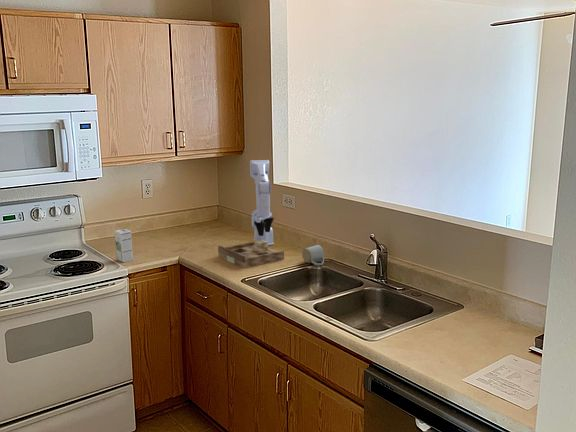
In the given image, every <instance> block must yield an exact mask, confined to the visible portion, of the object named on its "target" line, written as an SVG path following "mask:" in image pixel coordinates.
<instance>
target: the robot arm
mask: <svg viewBox="0 0 576 432" xmlns="http://www.w3.org/2000/svg"><path fill="white" fill-rule="evenodd" d="M249 173H250V178H252V179H254V182H255V200H256V201H255V203H256V204H255V205H256V209H254V210H253V211H252V212H251V227H252V228H254V230H253V231H254V233H253V235H254V236H253V237H254V242H255V241H259V240H264V241H267V242H268V246H272V245H275V243H274V230H273V228H272V224H273V221H274V220H275V218H274V217H273V212H271V194H272V183H271V181H270V180H269V174H270V160H269V159H266V160H265V159H263V160H261V159H258V160H255V159H254V160H253V159H251V160H250V161H249Z"/></svg>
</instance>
